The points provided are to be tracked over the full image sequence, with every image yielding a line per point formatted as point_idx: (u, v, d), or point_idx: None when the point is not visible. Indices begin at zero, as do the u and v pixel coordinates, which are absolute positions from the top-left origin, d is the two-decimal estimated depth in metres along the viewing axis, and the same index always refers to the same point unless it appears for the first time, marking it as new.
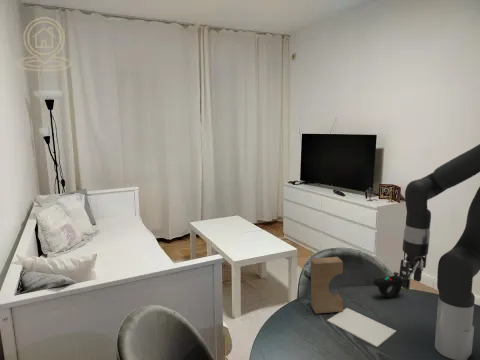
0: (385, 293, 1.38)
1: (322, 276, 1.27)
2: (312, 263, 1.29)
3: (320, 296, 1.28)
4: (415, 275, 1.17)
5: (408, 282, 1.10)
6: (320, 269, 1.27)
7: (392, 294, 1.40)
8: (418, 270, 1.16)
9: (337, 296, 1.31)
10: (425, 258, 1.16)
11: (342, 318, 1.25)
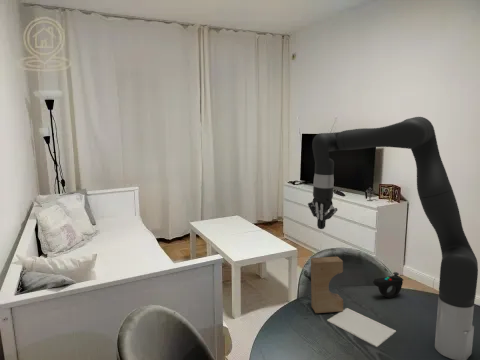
0: (385, 293, 1.38)
1: (322, 275, 1.28)
2: (312, 262, 1.30)
3: (320, 295, 1.28)
4: None
5: None
6: (320, 268, 1.27)
7: (392, 294, 1.40)
8: None
9: (337, 296, 1.31)
10: (315, 207, 1.36)
11: (342, 318, 1.25)
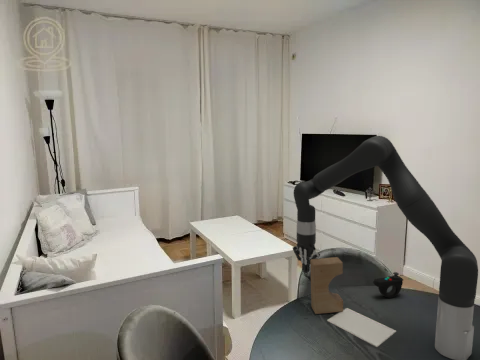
0: (385, 293, 1.38)
1: (321, 277, 1.27)
2: (312, 264, 1.29)
3: (320, 297, 1.28)
4: None
5: None
6: (319, 270, 1.26)
7: (392, 294, 1.40)
8: None
9: (337, 296, 1.31)
10: (299, 250, 1.41)
11: (342, 318, 1.25)
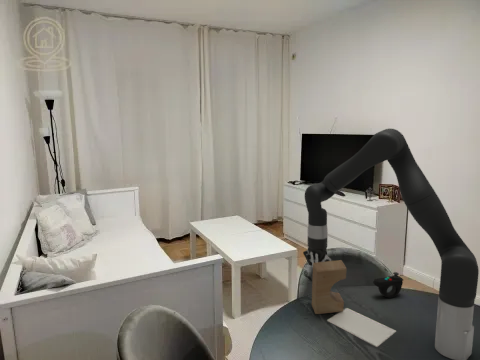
0: (385, 293, 1.38)
1: (324, 282, 1.23)
2: (314, 269, 1.24)
3: (321, 300, 1.26)
4: None
5: None
6: (322, 276, 1.22)
7: (392, 294, 1.40)
8: None
9: (338, 297, 1.30)
10: None
11: (342, 318, 1.25)
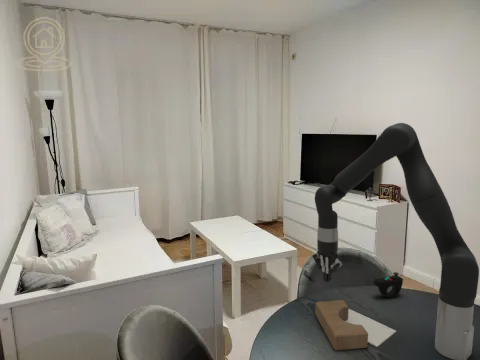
0: (385, 293, 1.38)
1: None
2: (333, 341, 1.09)
3: None
4: None
5: None
6: None
7: (392, 294, 1.40)
8: None
9: (345, 314, 1.23)
10: (320, 258, 1.33)
11: None
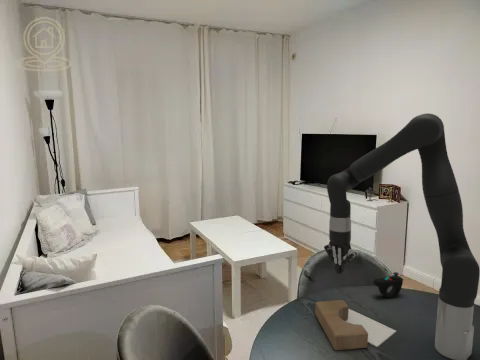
0: (385, 293, 1.38)
1: None
2: (333, 341, 1.09)
3: None
4: None
5: None
6: None
7: (392, 294, 1.40)
8: None
9: (345, 314, 1.23)
10: (331, 249, 1.28)
11: None
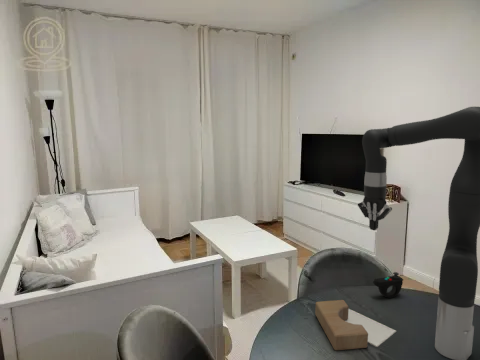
0: (385, 293, 1.38)
1: None
2: (333, 341, 1.09)
3: None
4: None
5: None
6: None
7: (392, 294, 1.40)
8: None
9: (345, 314, 1.23)
10: None
11: None
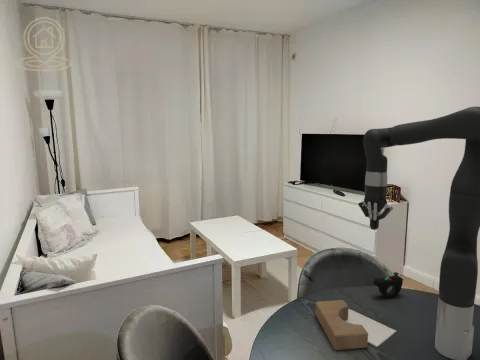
0: (385, 293, 1.38)
1: None
2: (333, 341, 1.09)
3: None
4: None
5: None
6: None
7: (392, 294, 1.40)
8: None
9: (345, 314, 1.23)
10: None
11: None
